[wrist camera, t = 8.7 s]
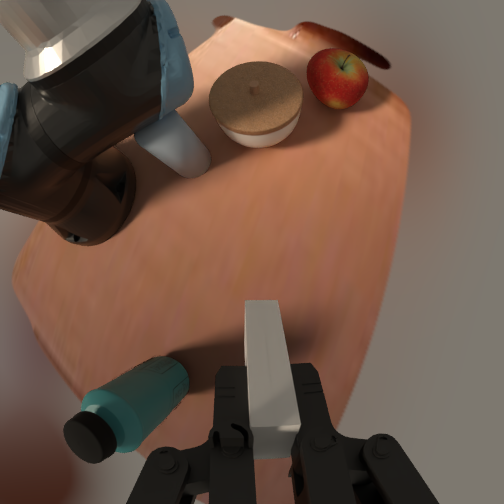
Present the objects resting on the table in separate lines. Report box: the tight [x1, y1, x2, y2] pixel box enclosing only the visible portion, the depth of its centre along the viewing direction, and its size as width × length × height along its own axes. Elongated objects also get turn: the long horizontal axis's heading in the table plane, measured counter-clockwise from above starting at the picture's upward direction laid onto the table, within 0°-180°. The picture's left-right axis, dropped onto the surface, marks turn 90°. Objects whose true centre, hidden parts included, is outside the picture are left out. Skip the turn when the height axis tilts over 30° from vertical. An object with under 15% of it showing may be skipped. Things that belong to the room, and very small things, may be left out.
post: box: [134, 109, 211, 178], centre depth 32 cm, size 5×5×12 cm
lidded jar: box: [209, 61, 303, 148], centre depth 32 cm, size 11×11×9 cm
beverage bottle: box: [63, 356, 190, 464], centre depth 25 cm, size 6×7×20 cm
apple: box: [307, 48, 368, 109], centre depth 32 cm, size 8×8×10 cm
